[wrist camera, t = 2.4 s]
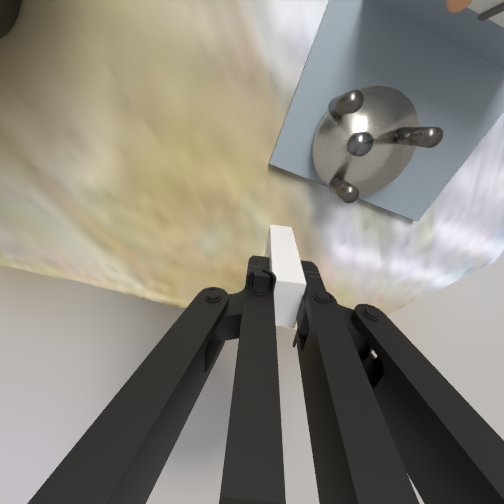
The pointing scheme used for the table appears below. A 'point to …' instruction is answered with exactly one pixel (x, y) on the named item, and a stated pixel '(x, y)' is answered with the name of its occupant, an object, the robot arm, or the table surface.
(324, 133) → the capstan
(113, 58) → the table surface
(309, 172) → the stand
